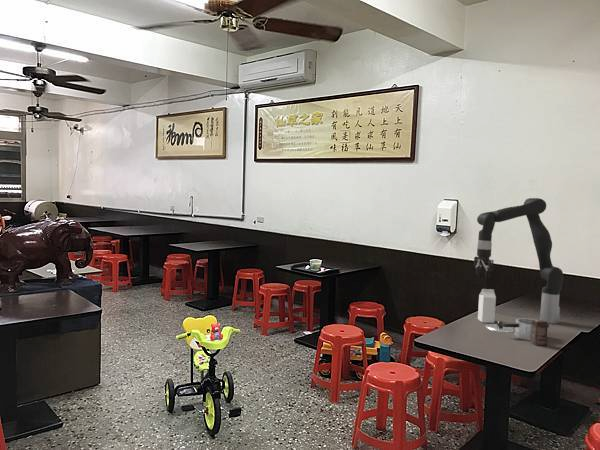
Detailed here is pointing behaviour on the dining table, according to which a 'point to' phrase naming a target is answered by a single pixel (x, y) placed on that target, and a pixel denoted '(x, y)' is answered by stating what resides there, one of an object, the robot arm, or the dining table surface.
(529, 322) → the pot
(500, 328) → the lid
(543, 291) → the robot arm
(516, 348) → the dining table surface
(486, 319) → the milk carton
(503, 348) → the dining table surface
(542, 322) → the box
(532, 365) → the dining table surface
